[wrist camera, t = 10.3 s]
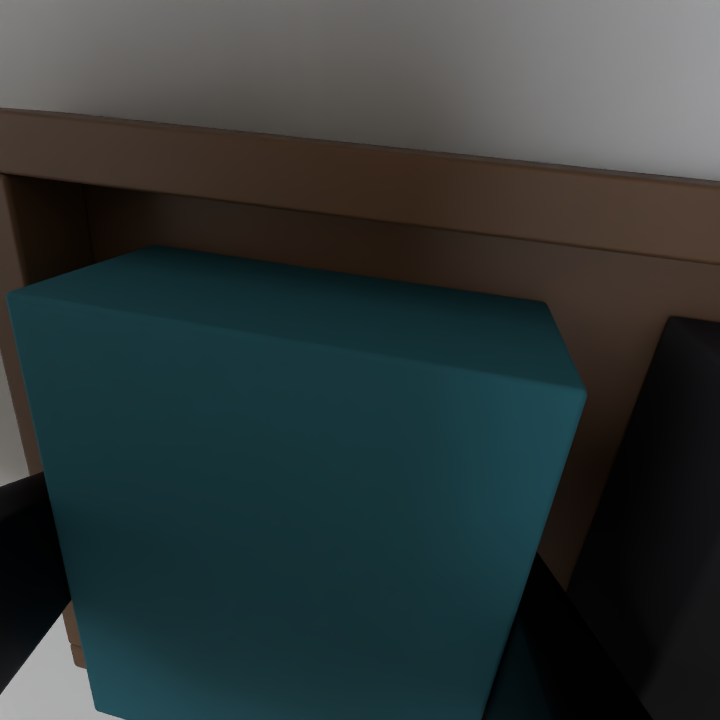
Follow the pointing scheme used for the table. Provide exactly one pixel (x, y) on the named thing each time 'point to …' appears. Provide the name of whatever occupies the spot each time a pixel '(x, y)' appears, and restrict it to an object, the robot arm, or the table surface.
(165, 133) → the backing tray
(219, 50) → the table surface
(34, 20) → the table surface
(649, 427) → the charcoal pad
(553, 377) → the teal pad
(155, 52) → the table surface
